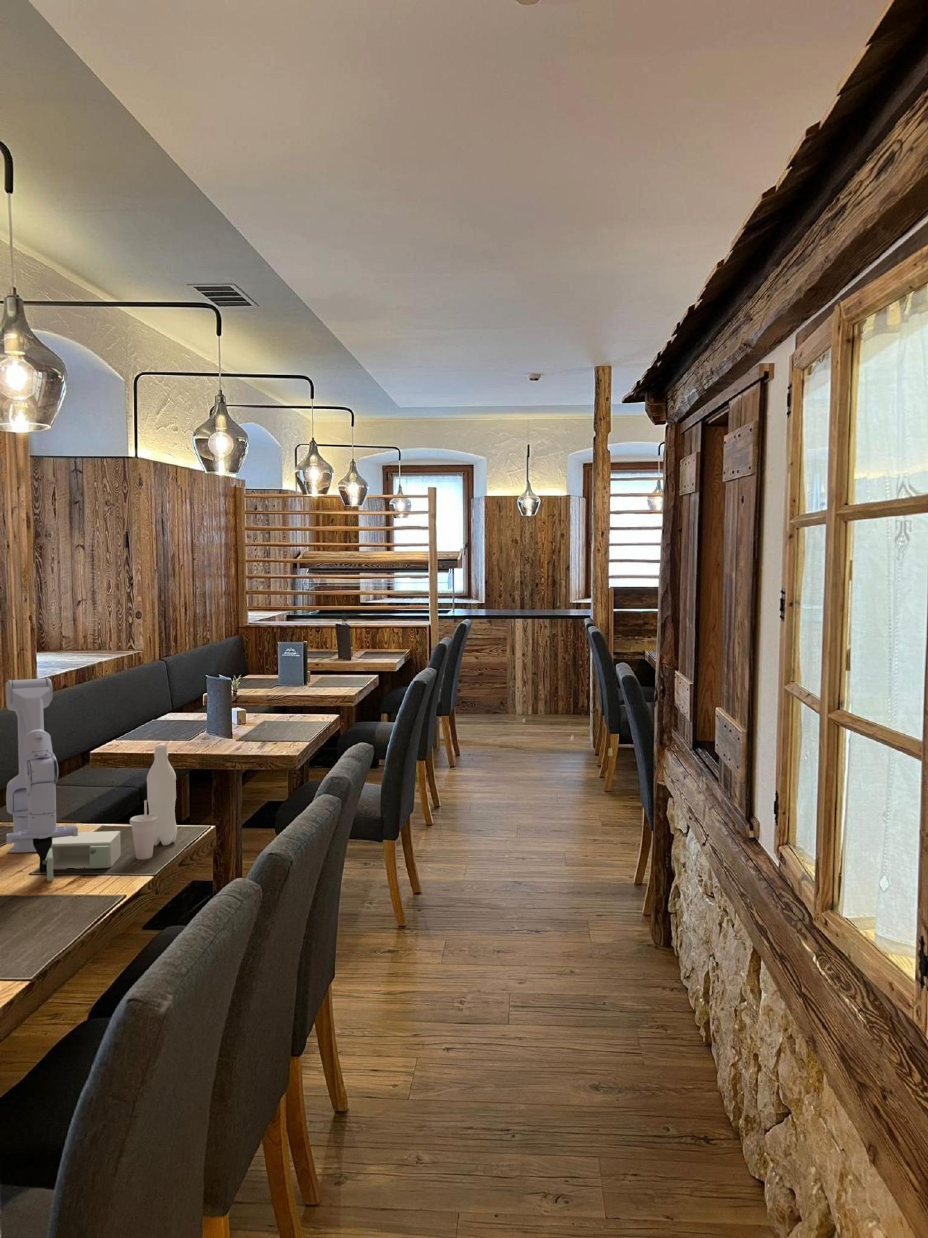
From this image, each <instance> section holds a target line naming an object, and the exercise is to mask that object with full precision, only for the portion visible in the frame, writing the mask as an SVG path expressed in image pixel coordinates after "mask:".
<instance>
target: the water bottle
mask: <svg viewBox="0 0 928 1238" xmlns="http://www.w3.org/2000/svg"><path fill="white" fill-rule="evenodd" d="M153 757H154V759H153V760H154V761H153V763H152V764H151V767H150V769H149V771H148V773H147V775H146V788H147V789H146V794H147V797H146V800H147V805H148V806H147V807H148V815H155V816H157V820H158V821H157V822H156V828H155V837H154V846H158V845H159V844H160V842H161V844H162V846H168V845H170V844H171V843H174V842H175V841H176V838H177V836H178V827H177V822H176V821H177V820H176V812H175V810H176V808H175V807H176V801H177V800H176V799H177V788H176V787H177V785H176V784H177V783H176V781H177V776H176V775H177V774H176V772H175V770H174V768H173V766H172V765H171V763H170V761H169V752H168V745H166V744H160V745H155V746H154V754H153Z"/></svg>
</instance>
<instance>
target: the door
mask: <svg viewBox="0 0 928 1238" xmlns="http://www.w3.org/2000/svg"><path fill="white" fill-rule="evenodd" d="M44 864H46V866H47V872H46V877H47V878H46V879H47V882H50V881H51V882H52V881H54V869H53V854H52V848H51V847H50V849H49V851H48V854H47V856H46V860H43V865H44Z"/></svg>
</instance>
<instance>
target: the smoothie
mask: <svg viewBox="0 0 928 1238" xmlns="http://www.w3.org/2000/svg"><path fill="white" fill-rule="evenodd" d="M143 803H144V806H143V807H144V808H143V812H144V813H143V814H139V815H134V816H132V817H130V819H129V824H130V826H131V832H132V838H133V844H134V850H135V858H136V860H148V859H151V858H153V853H154V846H155V845H154V837H155V828H156V822H157V821H158V820H157V816H155V815H149V814H148V806H147V805H148V801H147V799H144V801H143Z"/></svg>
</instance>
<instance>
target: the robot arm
mask: <svg viewBox="0 0 928 1238" xmlns="http://www.w3.org/2000/svg"><path fill="white" fill-rule="evenodd" d="M5 699H6V701H5V702H6V705H5V706H6V708H7V710H8V711H12V712H15V715H16V717H17V741H18V742H17V745H18V746H17V750H18V753H17V754H18V756H17V757H18V774H17V775H16V776H14V777H13V778H11V779H10V780H9V781H8V782H7V785H6V791H5V802H6V804H5V805H6V806H5V807H6V812H7V813H8V814H9V815H12V820H13V821H12V824H13V829H12V831H13V832H9V833H8V832H7V833H6V845H11V844H12V845H13V846H12V847H11V848H9V849H8V850H7V853H8V854H14V853H37V855H38V857H39V873H45V872H46V873H47V864H44V865H43V860H46V856H47V854H48V851H49V849H50V847H51V845H52V840H53V839H54V838H58V837H67V836H73V837H74V836H78V832H79V830H78V829H79V828H78V825H72V826H71V825H70V826H69V825H68V826H67V825H65V826H57V794H56V793H57V792H56V791H57V788H56V786H57V785H56V783H58V780H59V779H58V778H59V764H58V760H57V757H56V754H55V753H54V751H53V744H52V739H51V738H52V737H51V735H50V733H48V732H47V731H45V725H44V724H45V722H44V721H45V719H44V718H45V717H44V714H45V713H44V709H46V708H48V707H49V706H50V704H51V702H52V701H53V683H52V680H51V679H50V678H49V677H45V678H31V679H30V678H29V679H8V680H7V681H6V682H5Z"/></svg>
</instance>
